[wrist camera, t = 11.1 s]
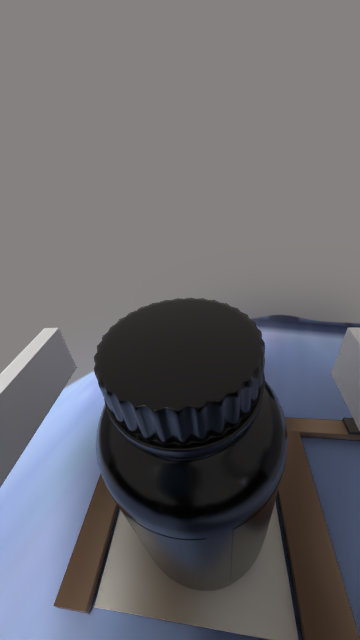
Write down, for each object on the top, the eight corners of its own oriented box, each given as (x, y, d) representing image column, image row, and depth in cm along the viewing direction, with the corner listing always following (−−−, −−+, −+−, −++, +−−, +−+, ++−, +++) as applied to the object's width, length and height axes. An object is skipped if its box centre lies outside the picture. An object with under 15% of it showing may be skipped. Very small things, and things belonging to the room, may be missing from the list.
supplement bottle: (199, 424, 18) (186, 268, 11) (290, 505, 13) (363, 327, 6) (116, 503, 14) (21, 343, 7) (203, 649, 10) (164, 587, 3)
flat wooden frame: (454, 418, 17) (461, 410, 16) (735, 736, 8) (771, 740, 7) (129, 402, 20) (126, 395, 20) (58, 607, 11) (51, 604, 11)
